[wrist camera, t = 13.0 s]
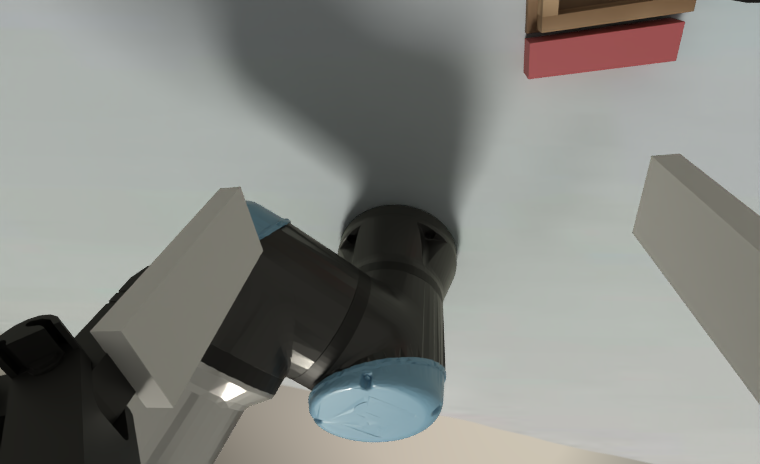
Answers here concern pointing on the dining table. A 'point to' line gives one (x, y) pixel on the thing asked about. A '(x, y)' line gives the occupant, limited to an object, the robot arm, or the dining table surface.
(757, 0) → the travel mug
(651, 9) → the box
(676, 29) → the door edge strip
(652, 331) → the dining table surface
